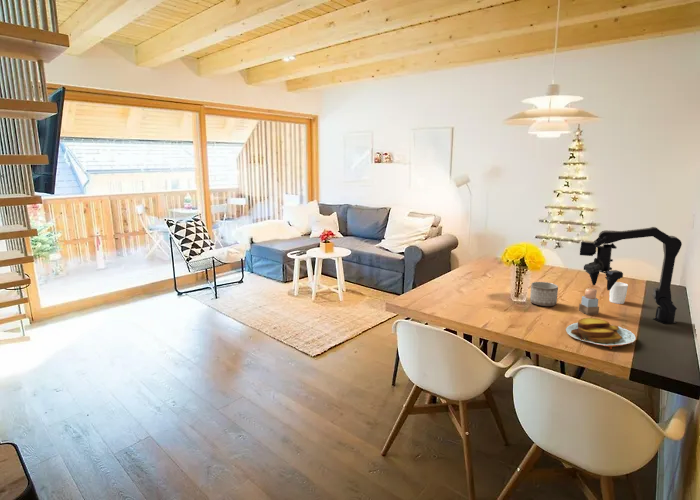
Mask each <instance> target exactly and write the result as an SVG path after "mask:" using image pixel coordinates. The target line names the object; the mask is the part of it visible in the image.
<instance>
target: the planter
mask: <svg viewBox="0 0 700 500" xmlns="http://www.w3.org/2000/svg"><path fill="white" fill-rule="evenodd" d="M530 285H531V286H530V297H529V301H530V302H531V303H532V304H534V305H538V306H541V307H554V306H556V305H557V302H558V292H559V285H557V284H555V283H553V282H546V281H534V282H531V283H530Z"/></svg>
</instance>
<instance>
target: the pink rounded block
mask: <svg viewBox="0 0 700 500" xmlns="http://www.w3.org/2000/svg"><path fill="white" fill-rule="evenodd" d="M584 296H585V298H588V299H596V298H597V289H594V288H586V289H585V293H584Z"/></svg>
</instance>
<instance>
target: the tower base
mask: <svg viewBox="0 0 700 500" xmlns="http://www.w3.org/2000/svg"><path fill="white" fill-rule="evenodd" d="M578 312H580V313H581V314H583V315H586V316H594V315H595V316H598V315H599V312H600V306H598V307H586V306H584V305H582V304H581V303H579V306H578Z"/></svg>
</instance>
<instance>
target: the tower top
mask: <svg viewBox="0 0 700 500" xmlns="http://www.w3.org/2000/svg"><path fill="white" fill-rule="evenodd" d="M580 304H582V305H584V306H586V307H599V298H597V297H596V299H588V298H585V295H584V296H583V295H582V296H581V302H580Z"/></svg>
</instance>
